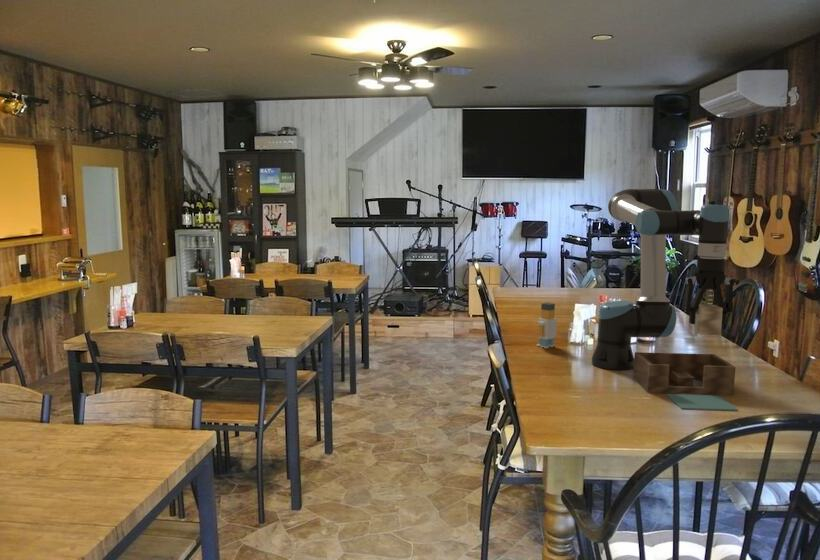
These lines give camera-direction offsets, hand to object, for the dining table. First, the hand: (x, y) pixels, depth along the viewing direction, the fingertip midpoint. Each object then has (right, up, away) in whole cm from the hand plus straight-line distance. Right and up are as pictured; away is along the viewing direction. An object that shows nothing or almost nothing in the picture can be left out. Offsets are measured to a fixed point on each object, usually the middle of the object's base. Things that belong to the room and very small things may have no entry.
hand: (706, 334), depth 190 cm
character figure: (-32, -11, +74) cm, 81 cm away
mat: (0, -21, +3) cm, 21 cm away
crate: (+1, -19, +20) cm, 27 cm away
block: (0, +1, 0) cm, 1 cm away
